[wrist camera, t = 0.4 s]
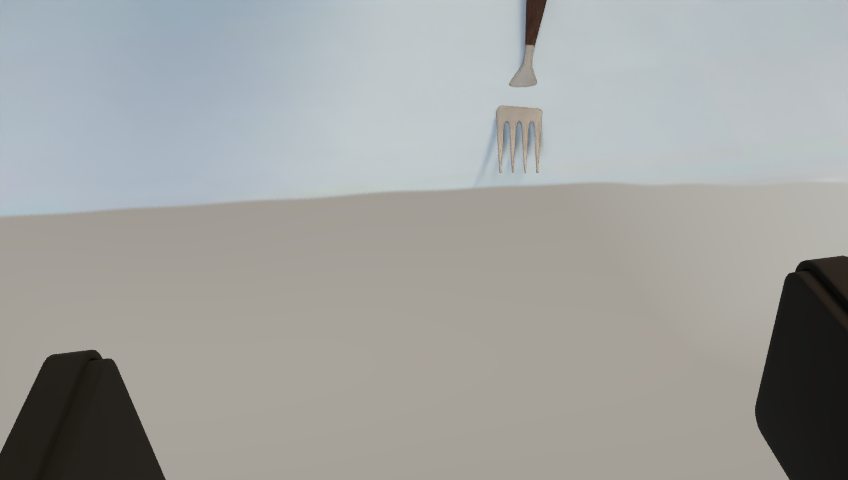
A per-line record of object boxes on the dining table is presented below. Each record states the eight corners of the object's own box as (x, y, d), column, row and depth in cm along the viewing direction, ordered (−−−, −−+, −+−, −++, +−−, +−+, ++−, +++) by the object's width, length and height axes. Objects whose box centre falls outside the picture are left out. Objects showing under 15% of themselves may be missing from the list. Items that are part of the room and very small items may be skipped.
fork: (582, -150, 35) (594, -145, 33) (533, 157, 43) (542, 173, 42) (527, -153, 34) (537, -148, 33) (489, 156, 43) (496, 173, 42)
